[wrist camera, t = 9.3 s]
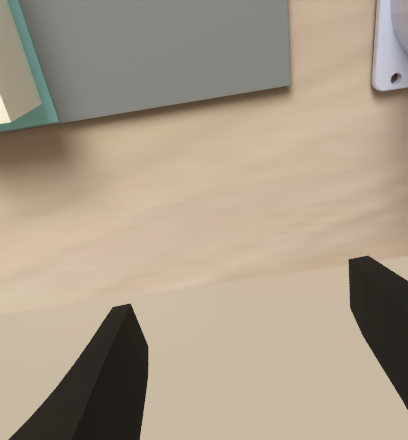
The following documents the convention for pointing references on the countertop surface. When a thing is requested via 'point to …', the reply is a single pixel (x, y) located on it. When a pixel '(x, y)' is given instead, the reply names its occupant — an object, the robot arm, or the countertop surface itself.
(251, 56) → the mat
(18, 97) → the card box
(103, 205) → the countertop surface
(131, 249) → the countertop surface
